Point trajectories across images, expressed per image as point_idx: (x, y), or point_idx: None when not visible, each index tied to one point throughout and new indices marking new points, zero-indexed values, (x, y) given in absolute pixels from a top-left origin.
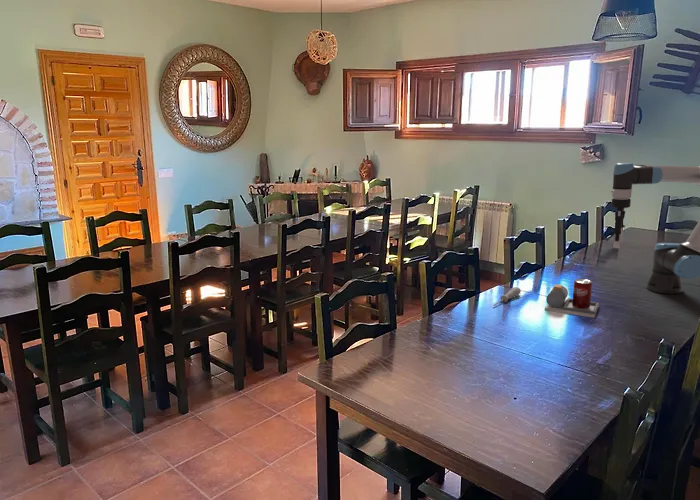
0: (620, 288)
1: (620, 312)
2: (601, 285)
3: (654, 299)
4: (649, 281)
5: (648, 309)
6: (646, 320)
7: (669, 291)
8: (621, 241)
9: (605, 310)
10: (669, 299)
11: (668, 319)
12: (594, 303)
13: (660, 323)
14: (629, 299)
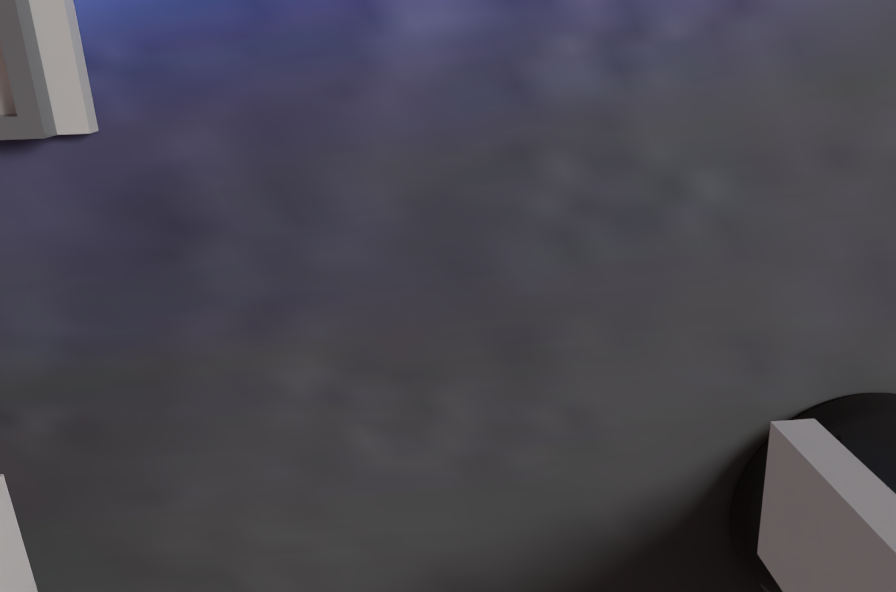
0: (755, 220)
1: (62, 306)
2: (794, 47)
3: (550, 472)
4: (853, 450)
5: (274, 462)
6: (7, 476)
7: (741, 554)
8: (764, 552)
9: (28, 196)
10: (600, 550)
11: (132, 579)
12: (18, 99)
13: None
14: (455, 323)
